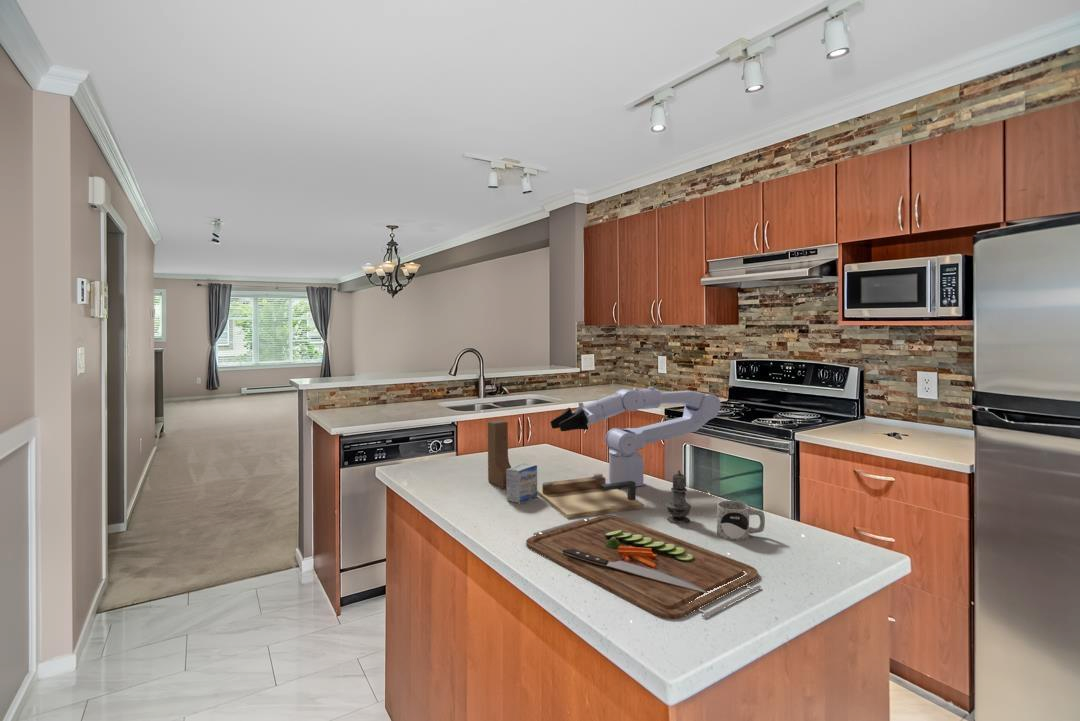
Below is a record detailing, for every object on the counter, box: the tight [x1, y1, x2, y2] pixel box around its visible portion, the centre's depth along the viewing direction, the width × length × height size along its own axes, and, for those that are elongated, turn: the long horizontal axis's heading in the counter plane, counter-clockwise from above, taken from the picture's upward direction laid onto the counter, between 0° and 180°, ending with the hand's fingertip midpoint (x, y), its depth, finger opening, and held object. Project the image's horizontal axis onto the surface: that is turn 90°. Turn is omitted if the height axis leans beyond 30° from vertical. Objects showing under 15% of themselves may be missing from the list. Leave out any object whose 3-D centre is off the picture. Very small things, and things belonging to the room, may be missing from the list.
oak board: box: [537, 483, 645, 520], centre depth 147 cm, size 21×21×1 cm
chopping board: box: [525, 514, 762, 620], centre depth 111 cm, size 45×27×3 cm, turn 38°
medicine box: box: [506, 462, 538, 504], centre depth 149 cm, size 8×4×9 cm, turn 143°
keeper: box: [600, 481, 637, 500], centre depth 143 cm, size 9×2×6 cm, turn 111°
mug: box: [716, 500, 766, 542], centre depth 122 cm, size 10×7×7 cm
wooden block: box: [487, 419, 512, 489], centre depth 162 cm, size 9×4×18 cm, turn 34°
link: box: [541, 472, 607, 494], centre depth 153 cm, size 18×4×3 cm, turn 111°
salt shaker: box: [665, 469, 693, 525], centre depth 132 cm, size 6×6×12 cm
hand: (555, 426), depth 154 cm, fingers open, 7 cm apart
